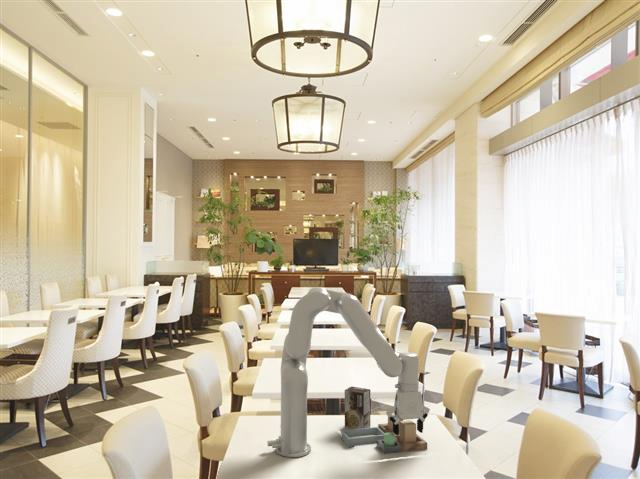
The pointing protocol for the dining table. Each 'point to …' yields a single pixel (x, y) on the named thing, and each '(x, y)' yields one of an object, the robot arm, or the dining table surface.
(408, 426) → the block
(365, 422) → the coffee box
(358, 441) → the tote frame
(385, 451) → the grey square socket
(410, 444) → the brown divided tray
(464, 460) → the dining table surface
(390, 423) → the seated block
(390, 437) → the button
